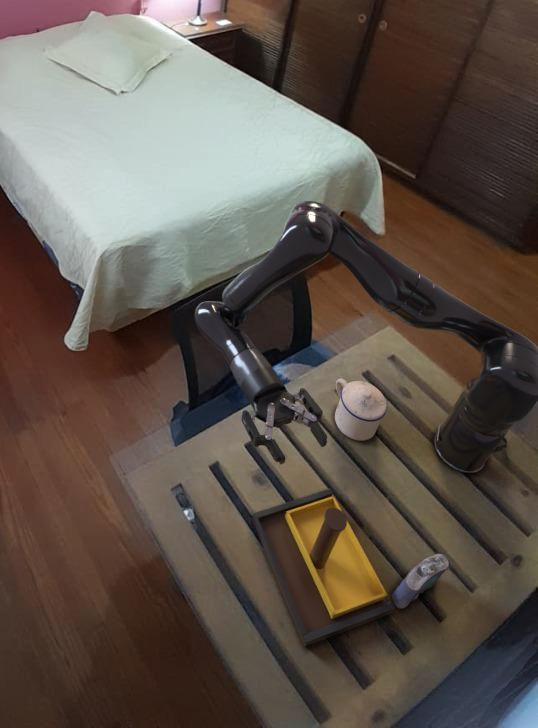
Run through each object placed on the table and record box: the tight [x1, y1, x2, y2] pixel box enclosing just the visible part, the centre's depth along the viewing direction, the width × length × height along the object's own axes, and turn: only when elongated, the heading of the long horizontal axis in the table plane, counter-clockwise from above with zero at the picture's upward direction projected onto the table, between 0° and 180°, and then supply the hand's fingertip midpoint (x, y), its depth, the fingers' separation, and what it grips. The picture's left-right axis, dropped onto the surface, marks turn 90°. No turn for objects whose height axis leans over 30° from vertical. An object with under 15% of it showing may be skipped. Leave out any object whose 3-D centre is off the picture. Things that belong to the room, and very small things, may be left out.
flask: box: [391, 553, 451, 610], centre depth 91 cm, size 9×3×11 cm, turn 117°
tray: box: [285, 495, 388, 619], centre depth 92 cm, size 10×16×18 cm, turn 15°
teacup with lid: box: [334, 378, 388, 442], centre depth 116 cm, size 12×9×12 cm
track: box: [251, 488, 396, 647], centre depth 97 cm, size 16×20×2 cm
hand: (304, 452), depth 95 cm, fingers open, 8 cm apart
